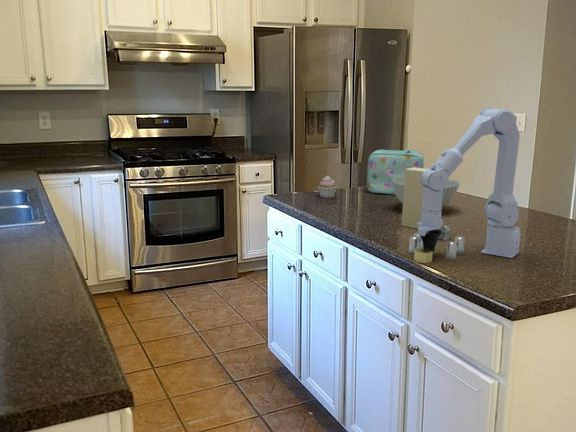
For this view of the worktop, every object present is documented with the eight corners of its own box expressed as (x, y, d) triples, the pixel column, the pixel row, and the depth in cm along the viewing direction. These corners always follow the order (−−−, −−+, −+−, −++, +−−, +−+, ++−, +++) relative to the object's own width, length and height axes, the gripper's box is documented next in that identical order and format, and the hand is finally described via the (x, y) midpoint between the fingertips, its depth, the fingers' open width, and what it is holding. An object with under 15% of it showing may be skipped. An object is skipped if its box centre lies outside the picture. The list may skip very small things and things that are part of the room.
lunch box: (425, 193, 270) (428, 148, 266) (423, 197, 261) (426, 150, 256) (369, 190, 278) (371, 146, 274) (365, 194, 269) (367, 148, 264)
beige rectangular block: (431, 225, 209) (434, 169, 204) (420, 229, 204) (423, 171, 199) (411, 222, 214) (414, 166, 210) (401, 225, 209) (404, 169, 204)
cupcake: (331, 194, 268) (331, 173, 265) (341, 198, 259) (341, 176, 257) (313, 196, 264) (313, 174, 262) (322, 199, 256) (323, 177, 253)
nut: (433, 259, 169) (434, 249, 168) (430, 264, 165) (431, 253, 164) (415, 257, 171) (416, 247, 171) (412, 261, 167) (412, 251, 167)
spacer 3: (457, 258, 171) (458, 242, 169) (453, 260, 168) (455, 244, 167) (448, 256, 172) (449, 240, 171) (444, 258, 170) (445, 242, 169)
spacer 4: (464, 252, 176) (466, 237, 175) (461, 254, 174) (463, 239, 173) (456, 251, 178) (457, 235, 177) (452, 253, 175) (454, 237, 174)
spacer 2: (423, 248, 180) (424, 233, 179) (420, 250, 178) (421, 235, 177) (415, 247, 182) (416, 232, 181) (411, 249, 179) (412, 234, 178)
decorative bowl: (455, 220, 218) (457, 189, 215) (385, 215, 226) (386, 184, 223) (458, 206, 242) (460, 178, 240) (395, 202, 251) (396, 174, 248)
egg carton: (424, 232, 201) (425, 221, 200) (446, 233, 200) (447, 222, 199) (427, 240, 190) (428, 228, 190) (450, 241, 190) (451, 229, 189)
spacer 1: (419, 252, 176) (420, 236, 175) (415, 254, 174) (416, 238, 173) (411, 251, 178) (411, 235, 177) (407, 253, 176) (408, 237, 174)
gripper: (428, 203, 176) (425, 246, 179) (408, 212, 165) (406, 257, 168) (450, 206, 172) (447, 249, 176) (432, 215, 161) (429, 261, 164)
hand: (429, 253), depth 171 cm, fingers closed
